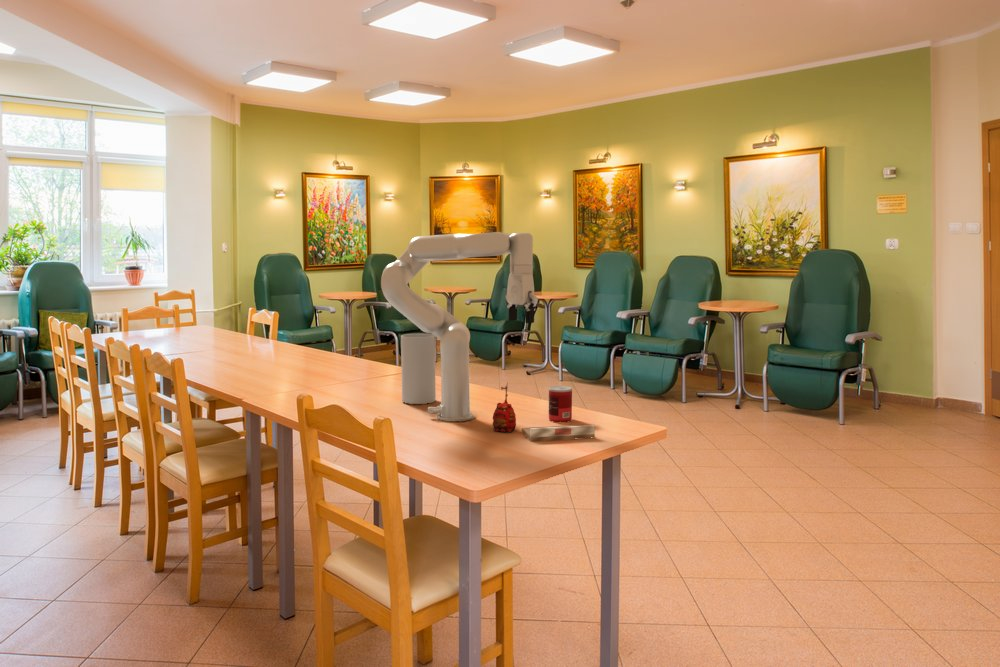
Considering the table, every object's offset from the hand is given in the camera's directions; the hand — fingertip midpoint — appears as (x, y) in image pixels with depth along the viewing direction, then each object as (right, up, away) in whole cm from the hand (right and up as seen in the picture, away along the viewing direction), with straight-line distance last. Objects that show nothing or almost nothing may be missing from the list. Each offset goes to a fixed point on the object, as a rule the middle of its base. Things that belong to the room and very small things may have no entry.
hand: (521, 321), depth 250 cm
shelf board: (+11, -35, -18) cm, 41 cm away
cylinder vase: (-38, -30, +30) cm, 57 cm away
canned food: (+13, -33, +1) cm, 36 cm away
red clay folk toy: (-6, -35, -13) cm, 38 cm away
